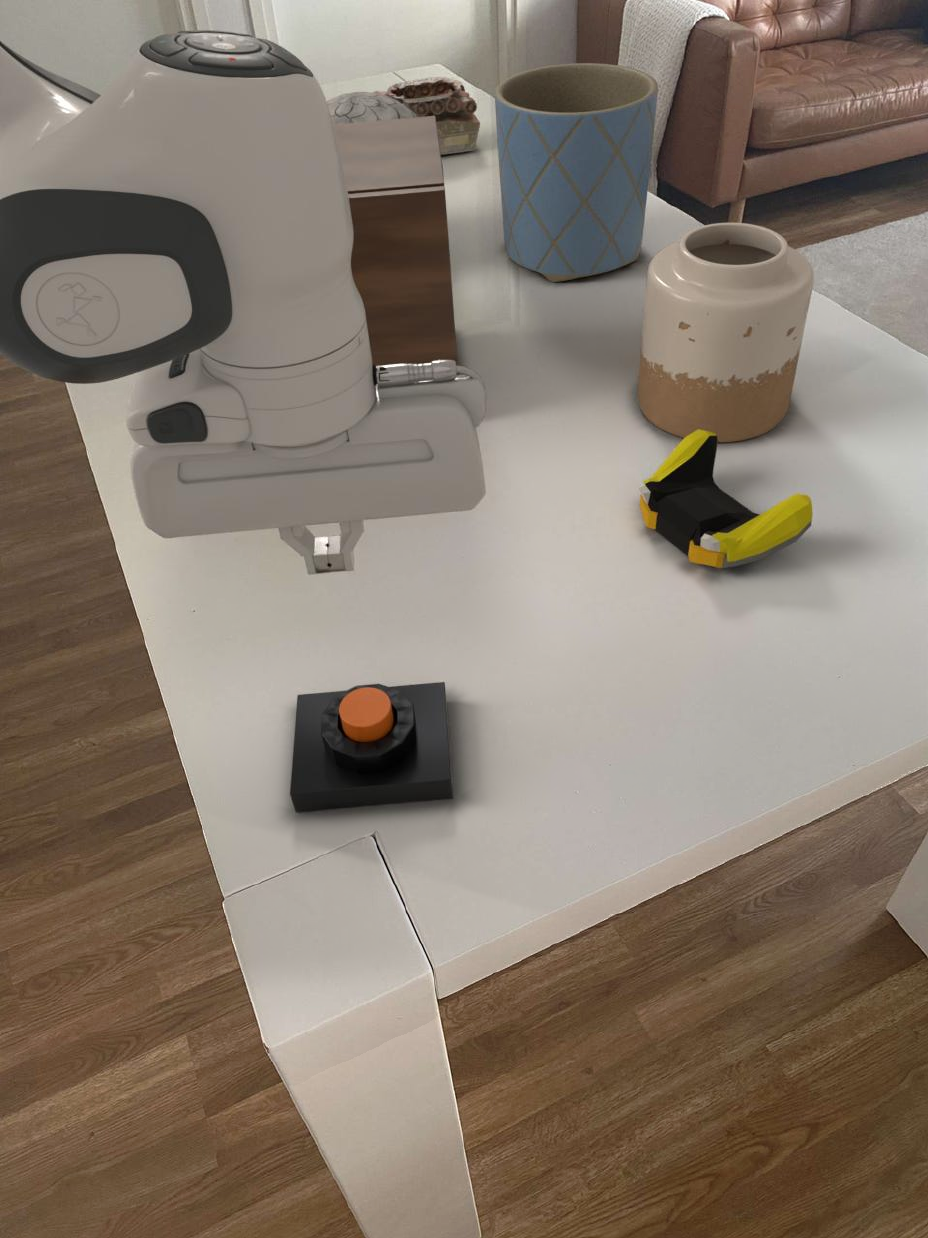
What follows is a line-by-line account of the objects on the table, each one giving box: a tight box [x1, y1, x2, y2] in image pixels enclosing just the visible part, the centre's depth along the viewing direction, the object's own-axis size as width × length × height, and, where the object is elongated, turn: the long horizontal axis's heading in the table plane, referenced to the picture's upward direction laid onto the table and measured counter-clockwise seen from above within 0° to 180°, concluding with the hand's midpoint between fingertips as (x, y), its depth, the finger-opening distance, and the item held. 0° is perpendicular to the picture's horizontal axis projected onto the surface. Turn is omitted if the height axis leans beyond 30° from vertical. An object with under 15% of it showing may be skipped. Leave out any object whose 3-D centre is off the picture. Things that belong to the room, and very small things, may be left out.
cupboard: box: [334, 116, 445, 194], centre depth 99 cm, size 18×26×24 cm
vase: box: [637, 222, 815, 443], centre depth 95 cm, size 15×15×17 cm
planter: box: [494, 62, 659, 283], centre depth 121 cm, size 19×19×20 cm
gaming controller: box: [638, 429, 813, 570], centre depth 85 cm, size 15×6×10 cm
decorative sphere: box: [326, 91, 445, 179], centre depth 124 cm, size 20×20×20 cm
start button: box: [339, 687, 394, 743], centre depth 68 cm, size 4×4×2 cm
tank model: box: [372, 76, 481, 156], centre depth 153 cm, size 13×20×10 cm, turn 98°
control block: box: [289, 681, 454, 813], centre depth 69 cm, size 11×9×4 cm
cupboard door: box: [348, 185, 459, 375], centre depth 90 cm, size 7×26×24 cm, turn 93°
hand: (331, 566), depth 62 cm, fingers closed
